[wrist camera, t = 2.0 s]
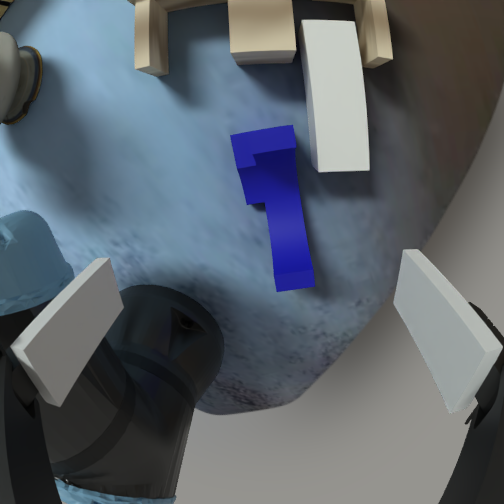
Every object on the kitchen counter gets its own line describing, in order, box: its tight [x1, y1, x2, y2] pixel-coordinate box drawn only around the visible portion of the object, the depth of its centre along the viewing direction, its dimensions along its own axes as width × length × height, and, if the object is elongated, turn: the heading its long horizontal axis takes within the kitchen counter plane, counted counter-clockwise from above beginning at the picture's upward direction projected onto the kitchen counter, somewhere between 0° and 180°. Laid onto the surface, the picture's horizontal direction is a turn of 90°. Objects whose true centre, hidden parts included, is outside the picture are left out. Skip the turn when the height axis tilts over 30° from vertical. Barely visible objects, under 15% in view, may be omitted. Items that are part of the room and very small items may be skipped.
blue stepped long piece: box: [230, 125, 315, 292], centre depth 23 cm, size 12×4×6 cm, turn 11°
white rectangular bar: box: [298, 20, 370, 172], centre depth 20 cm, size 12×4×4 cm, turn 6°
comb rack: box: [127, 0, 393, 77], centre depth 17 cm, size 8×20×5 cm, turn 93°
